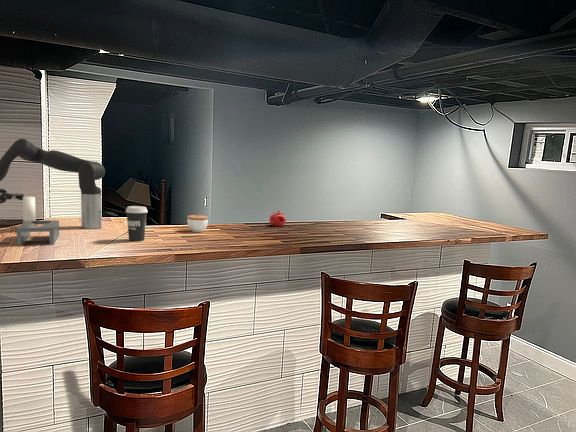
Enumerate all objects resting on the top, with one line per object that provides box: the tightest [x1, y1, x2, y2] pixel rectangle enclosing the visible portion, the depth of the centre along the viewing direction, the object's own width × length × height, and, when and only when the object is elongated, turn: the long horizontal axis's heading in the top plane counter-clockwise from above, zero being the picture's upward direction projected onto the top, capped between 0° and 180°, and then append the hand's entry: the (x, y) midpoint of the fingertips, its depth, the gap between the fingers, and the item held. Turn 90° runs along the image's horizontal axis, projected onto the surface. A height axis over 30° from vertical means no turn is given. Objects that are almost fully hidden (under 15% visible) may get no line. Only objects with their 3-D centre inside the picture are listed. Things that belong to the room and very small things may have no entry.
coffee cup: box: [125, 205, 149, 242], centre depth 194 cm, size 10×10×15 cm
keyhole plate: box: [16, 219, 60, 247], centre depth 184 cm, size 20×13×7 cm, turn 22°
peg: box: [22, 196, 37, 223], centre depth 202 cm, size 6×6×16 cm
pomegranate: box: [269, 209, 287, 228], centre depth 256 cm, size 10×10×9 cm
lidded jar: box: [186, 212, 209, 233], centre depth 225 cm, size 11×11×9 cm
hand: (14, 198), depth 206 cm, fingers open, 8 cm apart
